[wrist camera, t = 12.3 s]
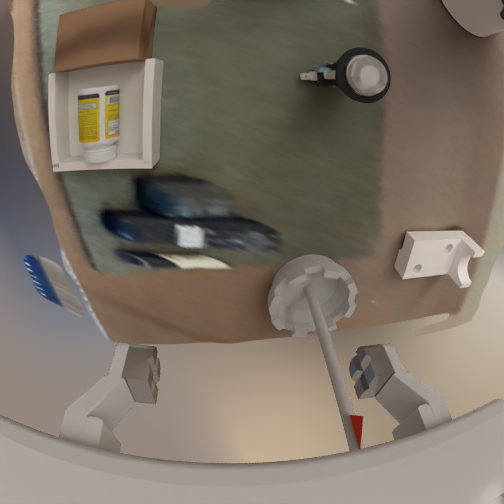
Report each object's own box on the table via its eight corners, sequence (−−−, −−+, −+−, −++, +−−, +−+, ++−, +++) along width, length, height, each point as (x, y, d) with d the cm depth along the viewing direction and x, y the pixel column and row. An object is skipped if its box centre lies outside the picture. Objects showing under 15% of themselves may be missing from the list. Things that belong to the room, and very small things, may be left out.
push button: (301, 97, 30) (329, 104, 21) (296, 54, 27) (323, 44, 18) (354, 95, 29) (397, 104, 21) (351, 54, 27) (393, 49, 18)
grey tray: (65, 73, 24) (48, 74, 21) (163, 60, 26) (155, 58, 23) (68, 161, 31) (53, 171, 28) (159, 158, 32) (151, 168, 29)
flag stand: (344, 306, 48) (404, 469, 23) (269, 319, 48) (297, 498, 23) (349, 242, 41) (449, 434, 16) (260, 255, 41) (297, 482, 16)
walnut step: (79, 20, 21) (60, 15, 17) (157, 7, 22) (145, -3, 18) (75, 71, 25) (54, 72, 20) (151, 61, 26) (138, 58, 22)
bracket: (459, 227, 41) (484, 251, 35) (447, 261, 45) (469, 286, 39) (403, 228, 41) (428, 255, 34) (393, 266, 44) (413, 295, 38)
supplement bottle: (75, 90, 24) (77, 159, 28) (81, 89, 21) (83, 167, 26) (114, 85, 27) (114, 151, 31) (125, 84, 24) (125, 159, 28)
